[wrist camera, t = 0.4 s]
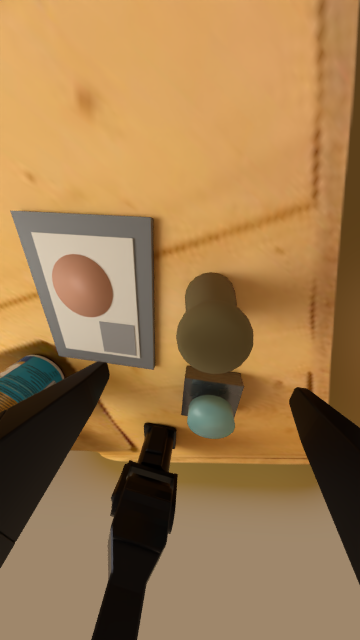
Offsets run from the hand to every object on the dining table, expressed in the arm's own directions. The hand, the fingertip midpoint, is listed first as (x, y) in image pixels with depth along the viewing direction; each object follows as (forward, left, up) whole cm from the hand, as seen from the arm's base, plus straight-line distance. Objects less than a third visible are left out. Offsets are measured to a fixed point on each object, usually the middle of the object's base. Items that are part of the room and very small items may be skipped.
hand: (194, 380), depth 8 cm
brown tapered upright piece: (0, -1, -14) cm, 14 cm away
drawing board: (-2, +14, -13) cm, 19 cm away
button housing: (-15, -3, -13) cm, 20 cm away
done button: (-15, -3, -10) cm, 18 cm away
